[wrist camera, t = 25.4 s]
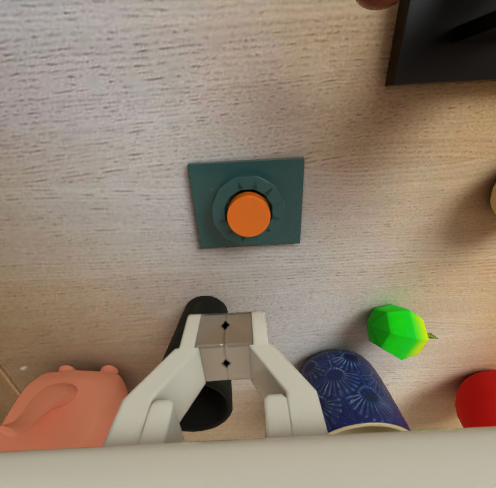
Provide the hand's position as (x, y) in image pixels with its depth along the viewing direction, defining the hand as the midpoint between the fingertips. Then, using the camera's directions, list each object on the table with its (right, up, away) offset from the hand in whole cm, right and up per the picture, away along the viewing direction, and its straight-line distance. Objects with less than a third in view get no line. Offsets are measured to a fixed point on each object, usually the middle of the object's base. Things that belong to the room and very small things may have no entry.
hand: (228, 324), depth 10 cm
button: (+1, +6, +14) cm, 16 cm away
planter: (+13, -16, +29) cm, 35 cm away
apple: (+20, -6, +24) cm, 32 cm away
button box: (+1, +7, +16) cm, 18 cm away
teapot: (-23, -18, +29) cm, 41 cm away
